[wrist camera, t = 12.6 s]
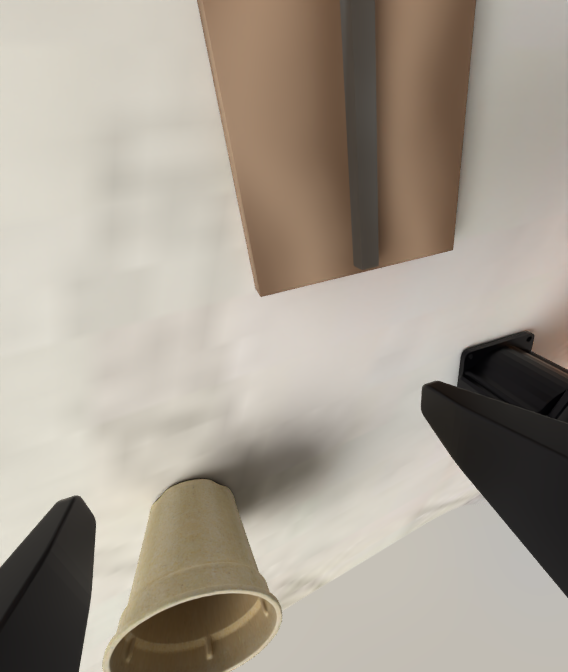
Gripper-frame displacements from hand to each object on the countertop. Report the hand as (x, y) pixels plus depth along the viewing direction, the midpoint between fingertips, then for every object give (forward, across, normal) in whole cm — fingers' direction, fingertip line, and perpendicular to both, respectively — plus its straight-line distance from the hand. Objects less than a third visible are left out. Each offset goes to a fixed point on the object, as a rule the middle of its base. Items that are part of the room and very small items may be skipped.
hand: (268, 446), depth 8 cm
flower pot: (+12, +6, +16) cm, 21 cm away
